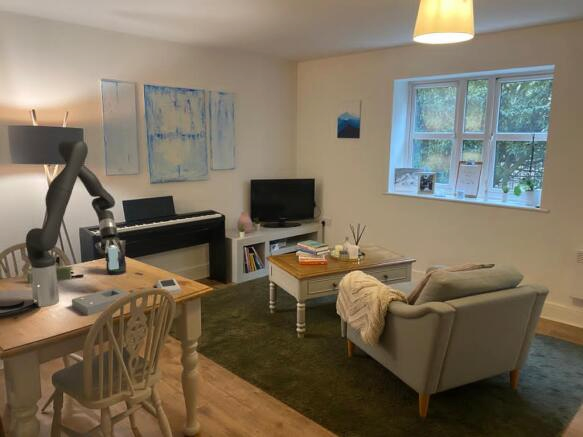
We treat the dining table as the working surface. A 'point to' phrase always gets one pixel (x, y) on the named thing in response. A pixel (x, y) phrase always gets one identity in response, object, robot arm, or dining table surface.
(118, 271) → the storage jar
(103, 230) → the robot arm
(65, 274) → the handheld radio
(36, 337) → the dining table surface
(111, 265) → the pale blue tall block
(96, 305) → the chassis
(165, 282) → the keypad
